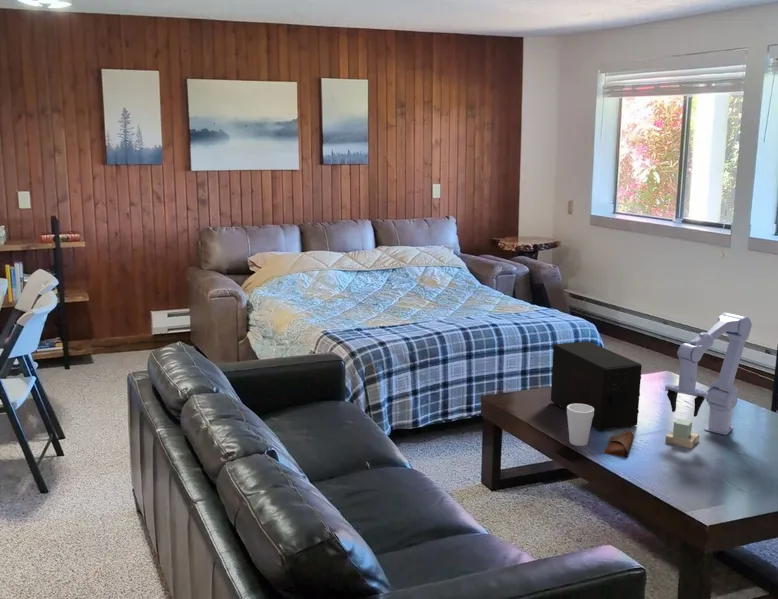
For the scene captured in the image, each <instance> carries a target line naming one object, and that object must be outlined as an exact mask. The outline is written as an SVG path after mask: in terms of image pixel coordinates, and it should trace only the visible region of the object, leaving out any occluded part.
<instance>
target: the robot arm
mask: <svg viewBox="0 0 778 599" xmlns="http://www.w3.org/2000/svg"><path fill="white" fill-rule="evenodd" d="M752 327H753V323H752V321H751V318H750V317H748V316H744V315H743V316H742V315H738V314H733V313H730V312H727V311H725V312H723V313H721V314H720V315H719V316H718V318H717V322H716V323H715V324H714V325H713V326H711V328H710V329H709V330H707V332H700V333H699V334H698V335H697V336H695V337H694V338H693V339H691V340H690V341H689V342H684V343H682V344H680V346H679V347H678V350H677V351H676V354H677V357H678V363H679V374H678V385H676V384H675V385H674V384H666V385H665V386H664V387H665V388H664V390H665V392H666V396H667V398H668V400H669V402H670V407H671V412H672V413H675V412H676V411H677V399H678V394H683V395H687V396H692V397H695V398H694V399H693V400H694V401H693V402H694V410H693V417H694V418H695V417H697V416H698V414H699V411H700V408H701V406H702V404H703V402H704V401H706V402H707V404H708V407H709V414H708V423H707V426H706V427H705V428H704V431H706V432H710V433H711V432H712V433H716V434H721V435H725V436H726V435H728V434H729V433H730V432H731V431H732V430H733V428H734V426H732V425H731V424H732V414H733V411H732V410H733V409H734V408H735V407H736V406H737V403H738V394H739V391H738V389H737V388H736V386H735V385H734V382H735V378H736V374H737V371H738V368H739V364H740V362H741V358H742V354H743V351H744V347H745V344H746V340H748V339H749V336H750V332H751V330H752ZM724 334H725V335H727V337H728V339H729V342H728V344H727V348H726V351H725V355H724V359H723V363H722V365H721V369H720V372H719V374H718V378H717V380H715V381H713V382H711V383H710V386H709V388H708V389H707V391H704V390H701V389H698V388H696V386H697V385H696V384H697V374H698V363H699V362H700V361H701V359H702V357H703V355H704V354H705V352H706V351H707V350H708V349H710V348H711V347H712V346H713V344H714V340H716V339H717V338H719V337H721V336H722V335H724Z"/></svg>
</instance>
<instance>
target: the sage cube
mask: <svg viewBox="0 0 778 599" xmlns="http://www.w3.org/2000/svg"><path fill="white" fill-rule="evenodd" d="M692 427H693V421H692V420H687V419H681V418H677V419H676V420H675V421H673V429H672V430H673V436H676V437H680V438H685V439H688V437H689V436H690V435H691V432H692Z"/></svg>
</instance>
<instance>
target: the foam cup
mask: <svg viewBox="0 0 778 599" xmlns="http://www.w3.org/2000/svg"><path fill="white" fill-rule="evenodd" d="M566 415H567V426H568V427H567V428H568V438H569V439H568V440H569V443H570V444H571V445H573V446H577V447H579V446H580V447H583V446H587V445H588V443H589V438H590V433H591V427H592V425H591V424H592V419H593V417H594V408H593V407H592V406H589V405H586V404H570V405H568V406H567V410H566Z"/></svg>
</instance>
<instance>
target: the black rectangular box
mask: <svg viewBox="0 0 778 599" xmlns="http://www.w3.org/2000/svg"><path fill="white" fill-rule="evenodd" d="M552 348H553V350H552V351H553V352H552V367H551V368H552V370H551V389H550V390H551V391H550V401H551V402H552V403H553V404H555V405H556V406H558V407H560V408H562V409H563V410H565V411H567V406H568V405H570V404H586V405H589V406H592V407H593V408H594V417H593V419H592V424H591V427H593V428H595V429H597V430H598V431H602V432H604V431H605V430H613V429H619V428H631V427H634V426H635V427H636V426H637V425H638V418H639V413H640V412H639V408H640V406H639V405H640V396H641V392H640V390H641V382H642V381H641V380H642V368H643V367H642V363H639V362H636V361H635V360H632V359H630V358H628V357H626V356H623V355H621V354H619V353H617V352H614V351H612V350H609V349H607V348H605V347H602V346H600V345H597V344H595V343H594V342H591V341H579V342H569V343H566V342H565V343H558V344H553V346H552Z"/></svg>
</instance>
